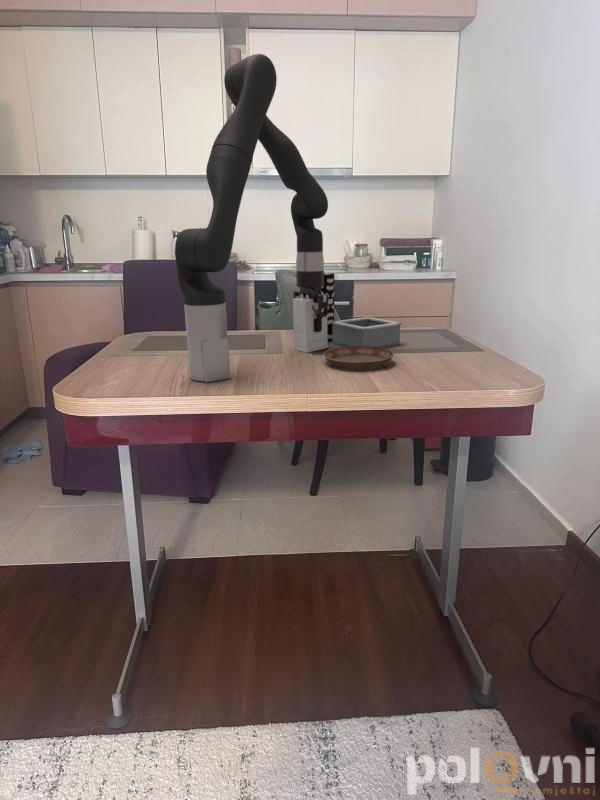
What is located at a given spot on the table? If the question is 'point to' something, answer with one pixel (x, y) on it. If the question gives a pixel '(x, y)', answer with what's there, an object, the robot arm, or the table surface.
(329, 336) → the white-spotted black cylinder
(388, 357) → the plant saucer
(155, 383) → the table surface
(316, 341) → the skincare box
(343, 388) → the table surface
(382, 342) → the bin
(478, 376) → the table surface
